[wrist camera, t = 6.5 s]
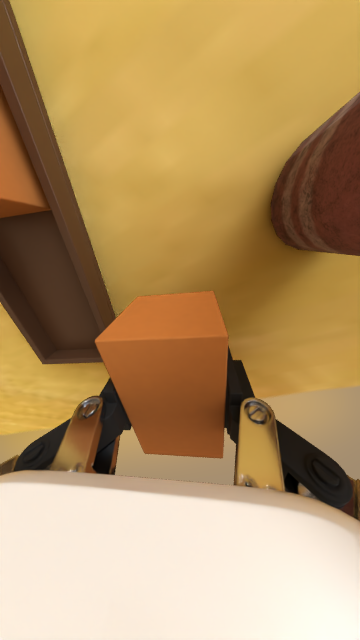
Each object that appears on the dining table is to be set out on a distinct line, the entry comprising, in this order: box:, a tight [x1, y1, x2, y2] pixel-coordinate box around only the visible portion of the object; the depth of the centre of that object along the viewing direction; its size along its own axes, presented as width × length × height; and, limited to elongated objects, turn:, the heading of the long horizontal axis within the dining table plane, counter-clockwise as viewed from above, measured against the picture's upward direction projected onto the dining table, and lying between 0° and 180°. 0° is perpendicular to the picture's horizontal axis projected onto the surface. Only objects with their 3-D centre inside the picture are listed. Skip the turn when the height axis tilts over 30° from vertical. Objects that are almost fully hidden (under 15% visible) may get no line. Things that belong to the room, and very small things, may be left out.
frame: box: [0, 0, 116, 364], centre depth 11 cm, size 8×22×2 cm, turn 6°
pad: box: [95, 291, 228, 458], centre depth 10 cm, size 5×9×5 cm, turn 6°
